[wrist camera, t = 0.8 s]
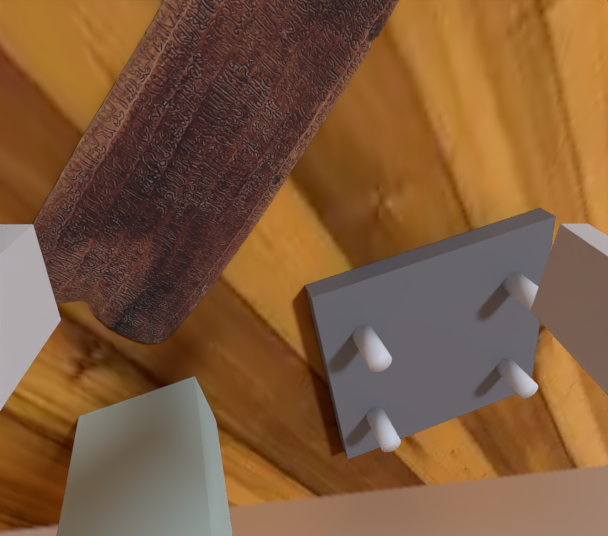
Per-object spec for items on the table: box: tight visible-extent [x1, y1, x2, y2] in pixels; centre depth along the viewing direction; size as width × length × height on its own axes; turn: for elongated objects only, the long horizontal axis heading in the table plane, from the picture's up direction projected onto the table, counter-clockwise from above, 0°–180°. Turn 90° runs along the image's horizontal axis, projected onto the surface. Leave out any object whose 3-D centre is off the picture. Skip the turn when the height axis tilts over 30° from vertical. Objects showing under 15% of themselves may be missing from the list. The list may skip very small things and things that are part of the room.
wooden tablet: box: [32, 0, 399, 344], centre depth 23 cm, size 26×2×10 cm
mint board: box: [57, 376, 232, 536], centre depth 26 cm, size 5×8×13 cm, turn 101°
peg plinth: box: [305, 208, 556, 459], centre depth 34 cm, size 18×18×4 cm
